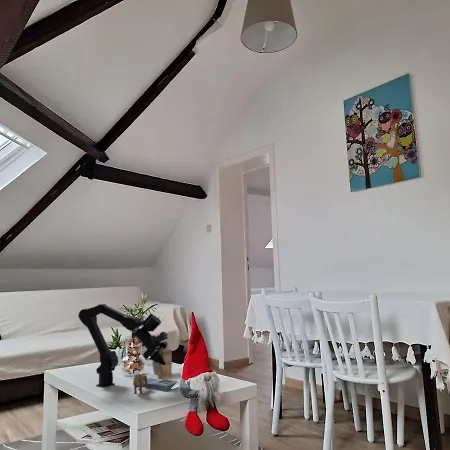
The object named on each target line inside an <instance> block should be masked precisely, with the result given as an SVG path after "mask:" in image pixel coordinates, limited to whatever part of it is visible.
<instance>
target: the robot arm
mask: <svg viewBox="0 0 450 450" xmlns="http://www.w3.org/2000/svg"><path fill="white" fill-rule="evenodd" d="M101 314H102V315H104V316H107V317H108V318H110V319H112V320H114V321H117V322H118V323H120V324H121V325H122V326H123V327H124V328H125V329H127V330H128V331H133V332H131V338H130V339H136V338H137V340H138V341H139V342H140V343H141V346H142V347H144V348H145V349H146V351H144V352H143V353H142V357H143V358H144V360H147V359H148V361H151V362H152V361H155V362H157V363H160V364H162V365H166V363H165V361H164V360H163V358H162V357H161V355H160V349H167V347H168V345H169V343H168V342H167V341H166V340H168V339H169V337H168V333H167V332H165V331H161V332H159V335H156V336H155V335H152V334H151V332H154V331H156V329H157V328H158V327H159V326H160V325H161V324H162V321H161V319H160V318H159V317H158V316H156V315H154V314H153V313H149V315H148V316H147V317H146V318H145V319H144V320H143V319H142V320H141V319H140V318H139V317H136V316H132V315H127V314H124V313H123V312H122V311H121V312H120V311H119V310H116V309H115V308H113V307H111V306H108V305H107V304H105V303H102V304H98V305H95V306H93V307H90V308H83V309H80V310H79V312H78V319H79V321H80V322H81V323H82V324H83V326H85V327H86V328H87V329H88V331H89V334H90V336H91V338H92V341H93V343H94V345H95V347H96V348H97V351H98V353H99V362H100V363H99V364H100V365H99V366H98V367H97V368H96V369H95V370H96V374H97V375H98V383H97V384H95V386H96V387H101V388H108V387H111V386H115V385H116V383H114V375H113V371H115V369H116V367H117V366H118V364H119V356H118V355H117V351H116V350H111V348H109V346H108V344H107V342H106V340H105V338H104V336H103V333H102V331H101V328H100V326H99V325H98V317H97V316H99V315H101ZM140 327H141V328H140Z"/></svg>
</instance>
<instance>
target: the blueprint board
mask: <svg viewBox="0 0 450 450" xmlns="http://www.w3.org/2000/svg"><path fill="white" fill-rule="evenodd" d="M159 380H160V379H158V378H153V377H152V378H151V377H147V383H148V389H150V390H151V389H152V390H157V391H162V392H170V391H172V390H171V388H172V387H173V386H174V385H175V384H176V383H175V384H172V385H169V386H166V387H165V386H160V385H154V384H153V382H156V381H159ZM160 383H162V384H167V383H171V382H167V381H164V382H160ZM144 385H145V382H144V383H143V384H142V388H144V389H146V387H147V385H145V387H144Z"/></svg>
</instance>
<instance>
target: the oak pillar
mask: <svg viewBox="0 0 450 450" xmlns="http://www.w3.org/2000/svg"><path fill="white" fill-rule="evenodd" d="M172 354H173V349H171V348H168V349H160V355H161V357H162V358H163V360H164V361H165V363H166V365H162V364H160V363H158V374H157V379H159V380H166V379H168V380H172V378H173V377H172V372H173V371H172V365H173V363H172V362H173V360H172V359H173V358H172V357H173V355H172Z"/></svg>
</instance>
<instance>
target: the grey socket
mask: <svg viewBox="0 0 450 450" xmlns="http://www.w3.org/2000/svg"><path fill="white" fill-rule="evenodd" d="M164 381H167V382H171V383H167V384H162V383H160V382H164ZM175 383H178V380H173V379H166V380H162V379H159V381H156V382H153V384H154V385H160V386H165V387H166V386H169V385H172V384H175Z"/></svg>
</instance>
